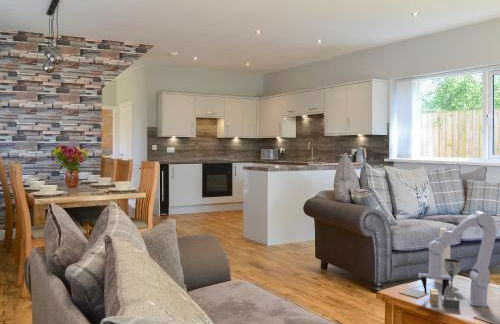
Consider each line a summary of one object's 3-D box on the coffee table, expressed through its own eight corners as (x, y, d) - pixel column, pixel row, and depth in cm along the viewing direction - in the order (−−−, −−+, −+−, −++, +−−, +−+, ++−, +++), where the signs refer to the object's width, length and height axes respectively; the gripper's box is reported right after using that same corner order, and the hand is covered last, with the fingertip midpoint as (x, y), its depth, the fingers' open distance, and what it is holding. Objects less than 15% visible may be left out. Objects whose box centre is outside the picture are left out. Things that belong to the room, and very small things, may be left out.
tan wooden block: (429, 298, 230) (430, 288, 230) (436, 299, 230) (437, 289, 229) (431, 304, 222) (431, 293, 222) (438, 305, 221) (438, 294, 221)
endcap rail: (441, 298, 230) (441, 289, 230) (455, 300, 228) (456, 290, 228) (444, 309, 215) (444, 299, 215) (459, 310, 213) (459, 300, 213)
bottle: (450, 284, 254) (452, 229, 253) (435, 283, 256) (437, 229, 255) (447, 280, 262) (449, 227, 261) (432, 279, 264) (434, 226, 263)
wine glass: (462, 291, 243) (463, 262, 243) (446, 290, 243) (447, 262, 243) (455, 286, 251) (456, 258, 251) (440, 286, 251) (441, 258, 251)
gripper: (419, 266, 224) (418, 294, 224) (452, 269, 219) (451, 298, 220) (418, 263, 230) (417, 290, 231) (450, 266, 226) (449, 294, 226)
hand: (434, 294), depth 226 cm, fingers open, 7 cm apart
